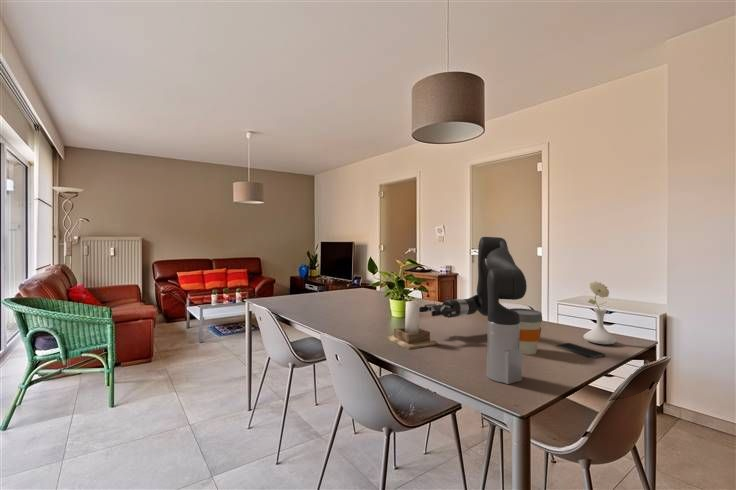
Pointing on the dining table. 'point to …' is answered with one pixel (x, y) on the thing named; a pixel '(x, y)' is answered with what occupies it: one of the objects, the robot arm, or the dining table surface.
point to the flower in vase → (599, 317)
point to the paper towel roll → (412, 317)
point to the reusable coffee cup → (529, 330)
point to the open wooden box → (412, 338)
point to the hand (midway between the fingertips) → (425, 311)
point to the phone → (580, 350)
